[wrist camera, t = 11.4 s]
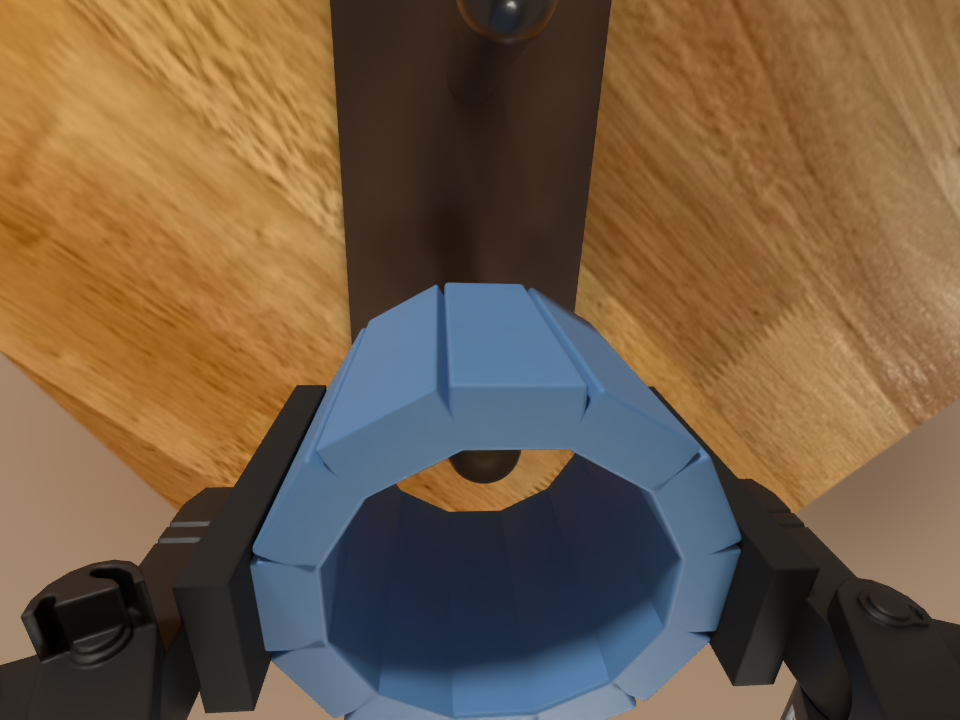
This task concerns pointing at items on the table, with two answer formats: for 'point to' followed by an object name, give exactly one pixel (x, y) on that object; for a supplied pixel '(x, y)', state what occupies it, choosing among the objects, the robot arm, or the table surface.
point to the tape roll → (491, 525)
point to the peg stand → (465, 151)
